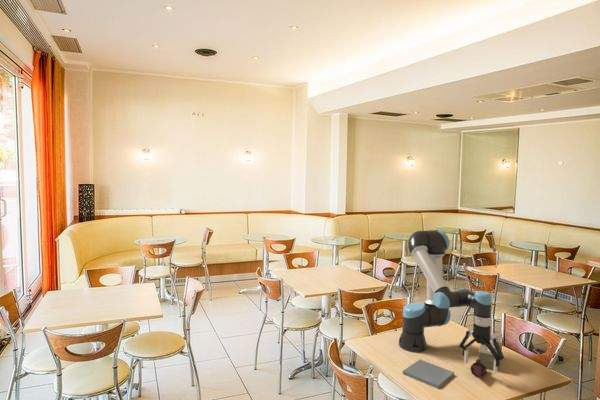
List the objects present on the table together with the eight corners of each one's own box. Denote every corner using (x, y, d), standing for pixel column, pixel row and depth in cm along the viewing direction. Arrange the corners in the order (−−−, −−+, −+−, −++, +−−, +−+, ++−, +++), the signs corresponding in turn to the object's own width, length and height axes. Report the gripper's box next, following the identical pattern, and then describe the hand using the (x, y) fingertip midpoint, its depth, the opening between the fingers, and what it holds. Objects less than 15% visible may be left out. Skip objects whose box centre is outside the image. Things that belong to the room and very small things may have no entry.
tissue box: (499, 372, 197) (501, 341, 196) (477, 367, 202) (479, 336, 201) (501, 356, 213) (503, 328, 212) (481, 352, 218) (483, 324, 217)
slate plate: (402, 373, 193) (402, 370, 193) (419, 362, 206) (419, 359, 205) (438, 388, 181) (438, 385, 181) (454, 375, 193) (454, 372, 193)
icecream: (491, 372, 184) (486, 360, 198) (474, 365, 186) (471, 354, 200) (486, 386, 184) (482, 373, 199) (469, 379, 187) (466, 367, 201)
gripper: (452, 319, 196) (451, 361, 197) (507, 334, 179) (505, 380, 180) (459, 315, 201) (457, 356, 203) (512, 329, 184) (510, 374, 185)
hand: (480, 367), depth 191 cm, fingers open, 13 cm apart
